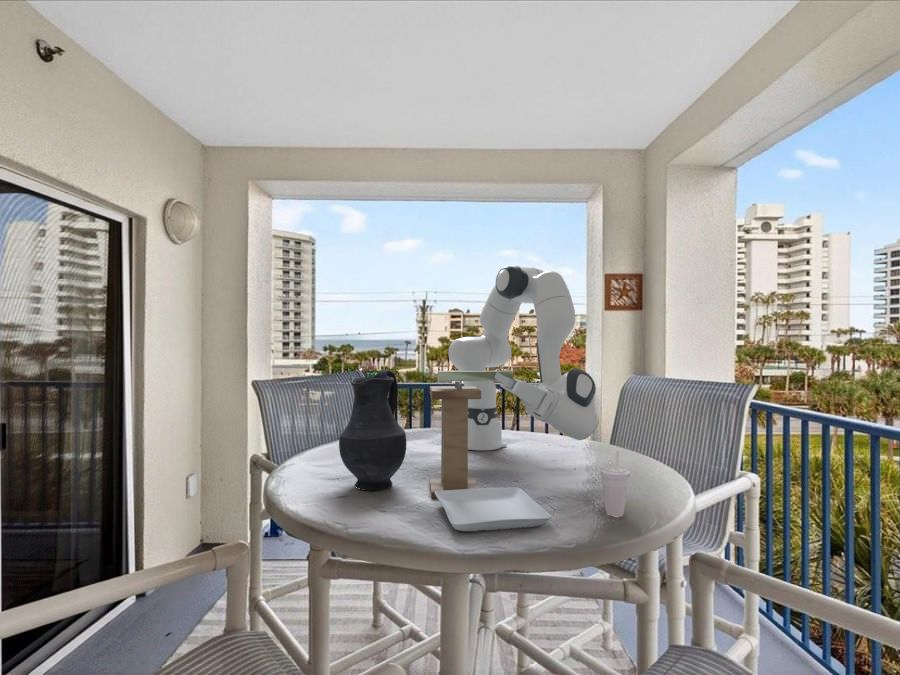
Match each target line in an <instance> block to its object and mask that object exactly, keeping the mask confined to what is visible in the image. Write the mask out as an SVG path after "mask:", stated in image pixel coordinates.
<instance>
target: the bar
mask: <svg viewBox="0 0 900 675" xmlns="http://www.w3.org/2000/svg"><path fill="white" fill-rule="evenodd" d="M496 372H498V373H500V374H502V375H504V376H506V377H508V378H510V379H512V380H513V378H514V371H512V370H486V371H459V370H437V381H438V382H455V381H459V382H463V381H493V382H499V381H498V380H496V379H495V378H494V375H495V373H496Z"/></svg>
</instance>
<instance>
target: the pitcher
mask: <svg viewBox="0 0 900 675" xmlns="http://www.w3.org/2000/svg"><path fill="white" fill-rule="evenodd" d="M349 380H350V384H351V386H352V387H353V393H354V394H353V395H354V396H353V405H352V412H351V414H350V418H349V421H348V422H347V425H346V427H345V428H344V429H343V431H341V433H340V434H339V438H338V449H339V450H338V452H339V456H340V459H341V461H342V463H343V465H344V466H345V468H346V469H347V470H348V471H349V472H350V473H351V474H352V475H353V476H354V477H355V479H356V482H355V484H354V487H355V486H356V487H357V488H360V489H364V490H376V491H383V490H382V489H384V490H387V489H389V488H391V487H392V486H393V482H392V480H391V479H392V477H393V476H394V475H395V474H396V473H397V472H398V470H399V469H400V467H401V466H402V465H403V462H404V460H405V457H406V454H407V453H406V452H407V434H406V431H405V429H403V428H402V427H401V425H400V424H399V423H398V422H397V420H396V418H395V412H396V408H397V407H396V406H397V401H398V400H397V399H398V389H399V388H398V387H399V386H398V380H397V376H396V374H395V373H394V372H393V371H392V370H390V369H381V370H380V371H378V372H377V373H376V374H374V375H373V376H361V377H353V376H351V377H350V378H349ZM357 488H356V489H357ZM364 490H363V491H364Z"/></svg>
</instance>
